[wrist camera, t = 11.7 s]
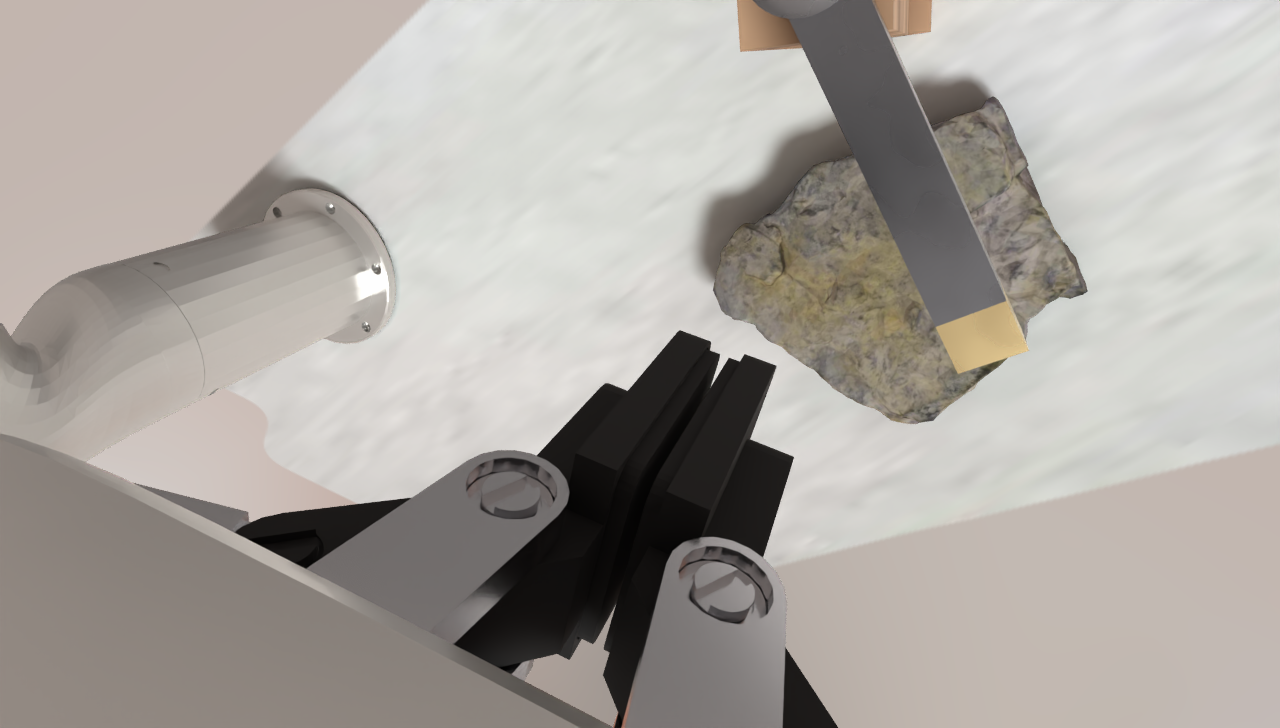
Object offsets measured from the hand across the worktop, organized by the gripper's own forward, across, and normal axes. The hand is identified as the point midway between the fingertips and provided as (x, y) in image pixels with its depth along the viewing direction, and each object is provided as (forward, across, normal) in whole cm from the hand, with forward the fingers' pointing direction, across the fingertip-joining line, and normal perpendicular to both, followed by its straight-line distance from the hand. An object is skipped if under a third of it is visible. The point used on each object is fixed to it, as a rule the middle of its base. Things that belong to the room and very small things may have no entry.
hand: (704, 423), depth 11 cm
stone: (+32, -4, +4) cm, 32 cm away
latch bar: (+11, -1, -4) cm, 12 cm away
